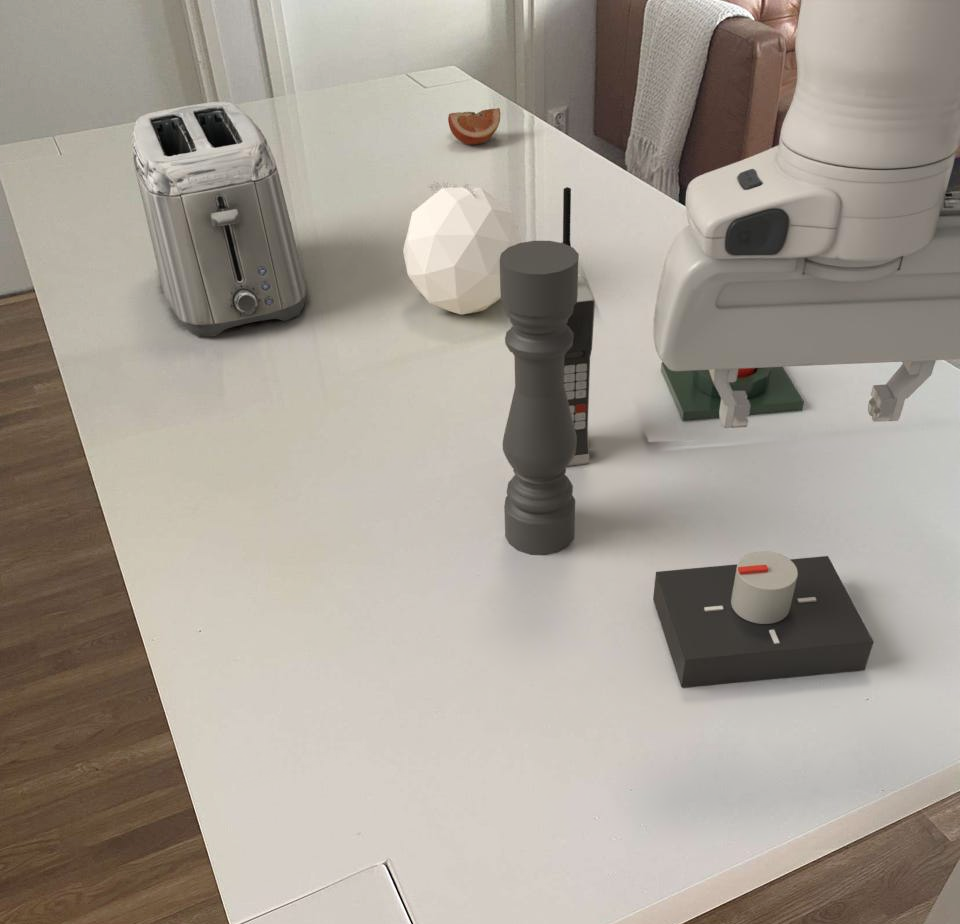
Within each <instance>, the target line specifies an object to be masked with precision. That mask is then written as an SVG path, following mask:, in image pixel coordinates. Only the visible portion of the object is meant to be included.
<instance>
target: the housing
mask: <svg viewBox="0 0 960 924" xmlns="http://www.w3.org/2000/svg"><path fill="white" fill-rule="evenodd" d="M660 372H661V375H662V377H663V380H664V381H665V384H666V386H667V389H668V391H669V393H670V396H671V398H672V400H673V402H674V405H675V407H676V409H677V412H678V415H679V416H680V418H681V421H682V422H688V421H697V420H698V421H699V420H711V419H720V416H719V410H720V403H721V397H720V395H719V393H718V391H717V389H716V387H715V385H714V383H713V381H712V378H711V375H710V372H709V370H691V371H672V370H670V369H668V368H667V366H666V365H665V364H664V363H663V362H662V361H661V364H660ZM728 383H729V385H730V387H731V389H732V391H745V392H746V394H747V399H748V400H749V402H750V405H751V407H750V413H749V415H748V416H756V415H757V416H758V415H768V414H769V415H770V414H781V413H792V412H793V413H794V412H802V411H803V409H804V404H805V400H804V399H803V398H802V396H801V394H800V393H799V391H798V389H797V387H796V386H795V384H794V383H793V381H792V379H791V377H790V376H789V374H788V373H787V371H786V370H785V367H764V368H755V371H754V373H753V374H752V375H750V376H748V377H742V378H737V380H736V381H735V382H728Z"/></svg>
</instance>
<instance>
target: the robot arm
mask: <svg viewBox="0 0 960 924" xmlns="http://www.w3.org/2000/svg"><path fill="white" fill-rule="evenodd" d="M795 32H796V33H795V41H794V43H795V45H794V52H795V61H796V84H795V89H794V92H793V93H794V94H793V97H792V100H791V103H790V106H789V109H788V110H787V112H786V114H785V117H784V120H783V122H782V125H781V129H780V135H779V141H778V145H775V146H773V147H771V148H769V149H766V150H763V151H761V152H759V153H757V154H754V155H752V156H749V157H747V158H744V159H742V160H739V161H736V162H733V163H730V164H728V165H724V166H723V167H719V168H717V169H713V170H711V171H708V172H705V173H703V174H700V175H698V176H696V177H694V178H693V179H692V180H691V181H690V182H689V183H688V185H687V187H686V191H685V214H686V220H687V224H688V225H687V226H685V227H684V228H683V229H682V230H680V231H679V232H678V234H677V235H676V236H675V237H674V239H673V241H672V242H671V244H670V246H669V249H668V251H667V252H666V257H665V259H664V264H663V266H662V267H663V268H662V271H661V276H660V280H659V284H658V290H657V295H656V300H655V306H654V313H653V321H652V322H653V323H652V338H653V344H654V349H655V351H656V354H657V356H658V358H659V359H660V360H661V363H662V362H663V363H664V364H665V365H666V366H667V368H668V369H670V370H672V371H691V370H709V372H710V375H711V378H712V381H713V383H714V385H715V387H716V389H717V391H718V393H719V395H720V397H721V403H720V410H719V416H720V418H719V421H720V424H721V427H722V429H734V428H735V429H736V428H747V426H748V422H749V419H748V417H749V416H750V415H749V413H750V407H751V405H750V402H749V400H748V399H747V394H746V392H745V391H732V389H731V387H730V385H729V383H728V382H735V381H736V380H737V375H738V369H740V368H764V367H783V368H785V367H787V368H788V367H808V366H832V365H855V364H857V365H858V364H881V363H882V364H884V363H902V364H901V365H900V367H898V368H897V370H896V371H895V373H893V375H892V376H891V377H890V378H889V379H888V381H887V382H886V384H874V385H872V388H871V392H870V396H871V398H870V399H869V400H868V404H867V412H868V414H869V416H871V420H872V421H873V423H879V422H898V421H899V420H900V418H901V415H902V411H903V408H904V405H905V401H906V399H909V398H910V397H911V396H912V395H913V394H914V393H915V392H916V391H917V390H918V389H919V388H920V387H921V386H922V385H923V384H924V383H925V382H926V381H927V380H928V379H929V378H930V377H931V376H932V375H933V371H934V367H935V364H936V361H951V360H952V361H954V360H957V361H958V360H960V190H959V191H957V190H956V191H947V189H948V185H949V183H950V182H949V181H950V179H951V175H952V171H953V167H954V163H955V159H956V157H957V152H958V151H957V150H958V149H959V146H960V0H801V2H800V8H799V14H798V20H797V27H796V31H795Z"/></svg>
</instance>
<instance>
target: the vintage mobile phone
mask: <svg viewBox="0 0 960 924" xmlns="http://www.w3.org/2000/svg"><path fill="white" fill-rule="evenodd" d="M562 192H563V194H562V195H563V197H562V199H563V201H562V202H563V203H562V206H563V207H562V212H563V213H562V243H564V244H566V245H568V246H570V247H572V245H571V214H572V213H571V211H572V210H571V209H572V207H571V206H572V204H571V203H572V188H570V187H567V186H566V187H564V188H563V191H562ZM595 309H596V301H595V298H594V297H593V295H592V293H591V291H590V289H589V287H588V285H587V283H586V282H585V280H584V278H583V276H582V275H578V296H577V303H576V304H575V305H574V307H573V313H572V315H571V316H570V317H569V318H568V322H567V324H566V325H567V326H568V327H569V328H570V329H571V330H572V332H573V333H574V336H573V345H572V347H571V348H570V349H569V350H568V351H567V352H566V354H565V355H564V387H565V391H566V395H567V399H568V403H569V407H570V412H571V416H572V420H573V424H574V428H575V432H576V436H577V444H576V452H575V455H574V458H573V459H572V461H571V462H570V464H569V465H568V466H567V467H571V466H572V467H573V466H581V465H587V464H588V463H590V444H589V443H590V442H589V407H590V406H589V405H590V404H589V403H590V380H591V379H590V377H591V375H590V374H591V356H592V352H593V340H594V325H595Z"/></svg>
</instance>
